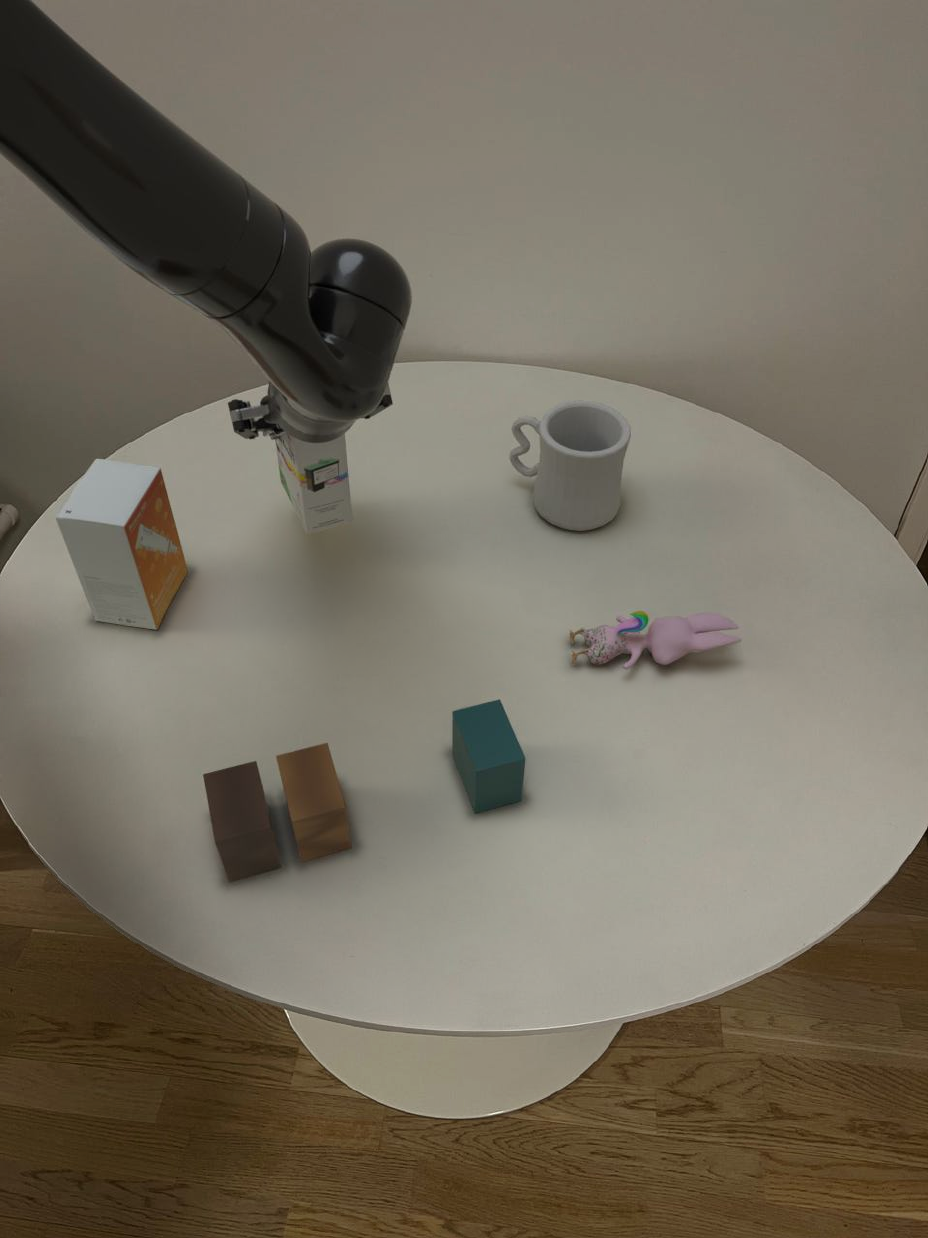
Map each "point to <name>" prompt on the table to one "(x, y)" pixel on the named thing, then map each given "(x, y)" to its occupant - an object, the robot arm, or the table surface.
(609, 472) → the mug
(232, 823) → the walnut block
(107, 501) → the small box
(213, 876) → the table surface
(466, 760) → the teal block
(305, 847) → the oak block
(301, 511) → the ink box
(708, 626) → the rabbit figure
